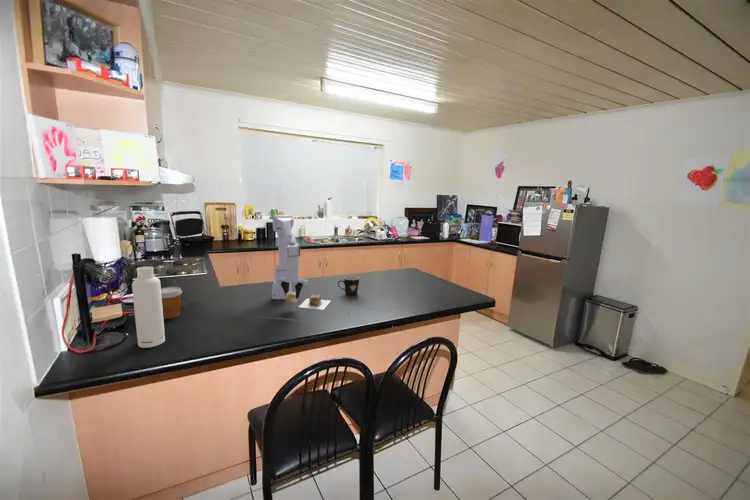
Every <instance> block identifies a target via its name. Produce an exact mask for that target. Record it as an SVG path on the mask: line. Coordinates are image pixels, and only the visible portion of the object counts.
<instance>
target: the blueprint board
mask: <svg viewBox="0 0 750 500" xmlns="http://www.w3.org/2000/svg"><path fill="white" fill-rule="evenodd" d="M330 303H331V300H330V299H329V300H326V299H321V303H320V304H319V305H318V306H315V305H309V298H306V299H305V300H304V301H303V302H302V303H300V305H298V308H300V309H301V308H303V309H310V310H312V309H314V310H321V311H323V310H325V309H326V307H327V306H328V305H329V304H330Z"/></svg>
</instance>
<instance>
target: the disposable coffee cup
mask: <svg viewBox="0 0 750 500" xmlns="http://www.w3.org/2000/svg"><path fill="white" fill-rule="evenodd" d="M182 294H183V290H182V288H181V287H179V286H168V287H161V296H162V308H163V319H164V320H166V319H167V320H171V319H175V318H177V317H179V316H180V312H181V299H182Z"/></svg>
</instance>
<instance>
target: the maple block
mask: <svg viewBox="0 0 750 500" xmlns="http://www.w3.org/2000/svg"><path fill="white" fill-rule="evenodd" d="M299 299H300V297H299V298H298V299H296V291H293V290H291V291H289V292H288V293H287V294H286V300H285V303H290V304H296V303H297V302H298V301H299Z"/></svg>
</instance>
